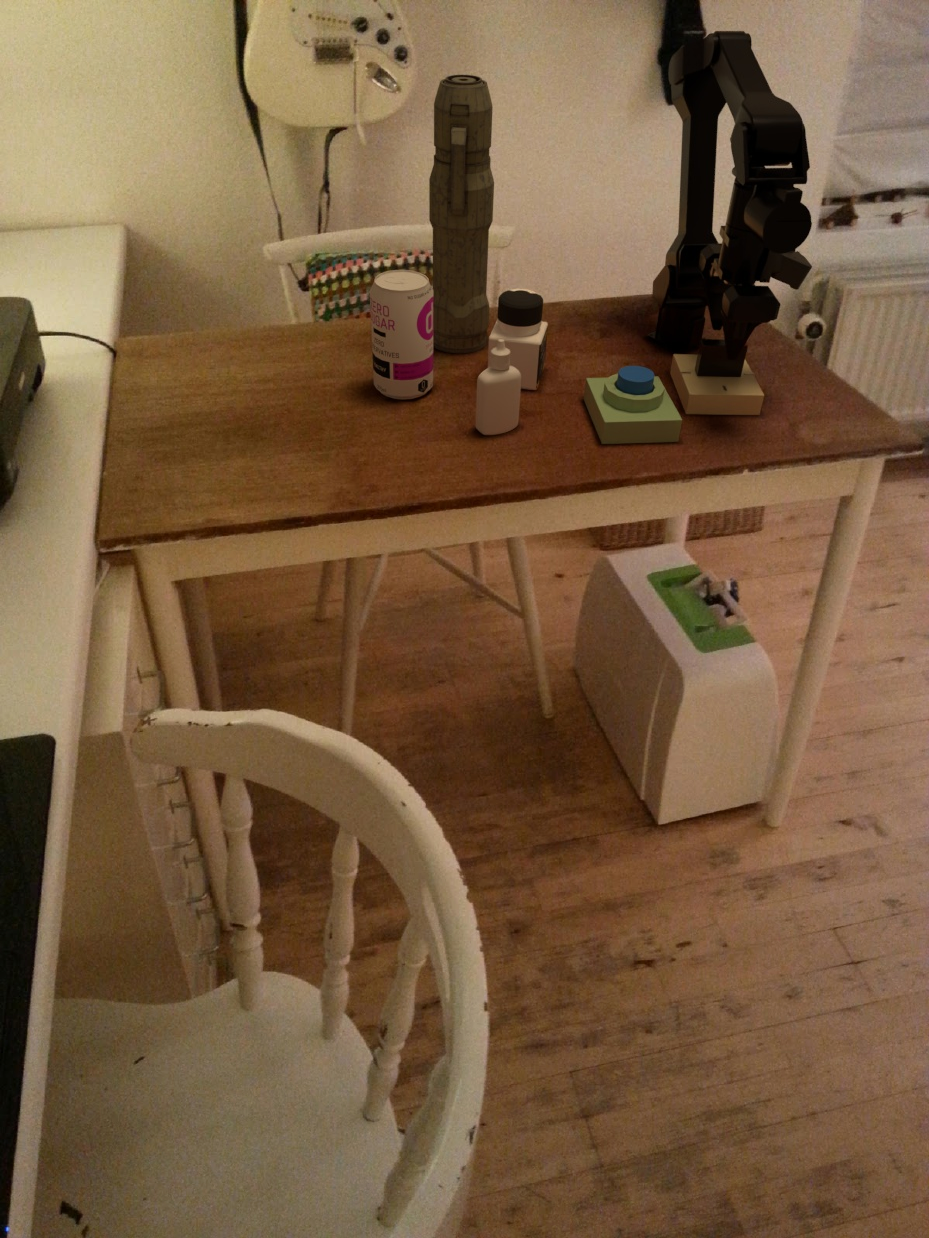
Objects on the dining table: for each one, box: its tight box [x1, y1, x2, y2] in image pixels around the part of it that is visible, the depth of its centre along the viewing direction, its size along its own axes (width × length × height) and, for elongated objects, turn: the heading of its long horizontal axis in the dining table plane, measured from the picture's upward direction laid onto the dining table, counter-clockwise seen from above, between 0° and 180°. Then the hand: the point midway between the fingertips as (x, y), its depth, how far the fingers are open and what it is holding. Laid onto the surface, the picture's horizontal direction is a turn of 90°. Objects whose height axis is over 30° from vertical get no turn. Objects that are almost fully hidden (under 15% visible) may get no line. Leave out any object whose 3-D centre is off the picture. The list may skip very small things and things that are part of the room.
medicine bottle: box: [487, 288, 549, 391], centre depth 131 cm, size 7×7×12 cm
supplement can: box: [369, 269, 434, 400], centre depth 126 cm, size 8×8×15 cm
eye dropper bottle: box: [474, 339, 522, 436], centre depth 120 cm, size 4×6×12 cm
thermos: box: [428, 74, 495, 354], centre depth 132 cm, size 9×12×35 cm
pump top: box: [616, 365, 655, 395], centre depth 122 cm, size 5×5×2 cm
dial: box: [695, 338, 749, 377], centre depth 129 cm, size 6×2×5 cm, turn 90°
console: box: [669, 353, 765, 416], centre depth 131 cm, size 12×10×3 cm
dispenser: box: [583, 373, 683, 445], centre depth 124 cm, size 12×10×5 cm
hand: (724, 344), depth 127 cm, fingers open, 9 cm apart
